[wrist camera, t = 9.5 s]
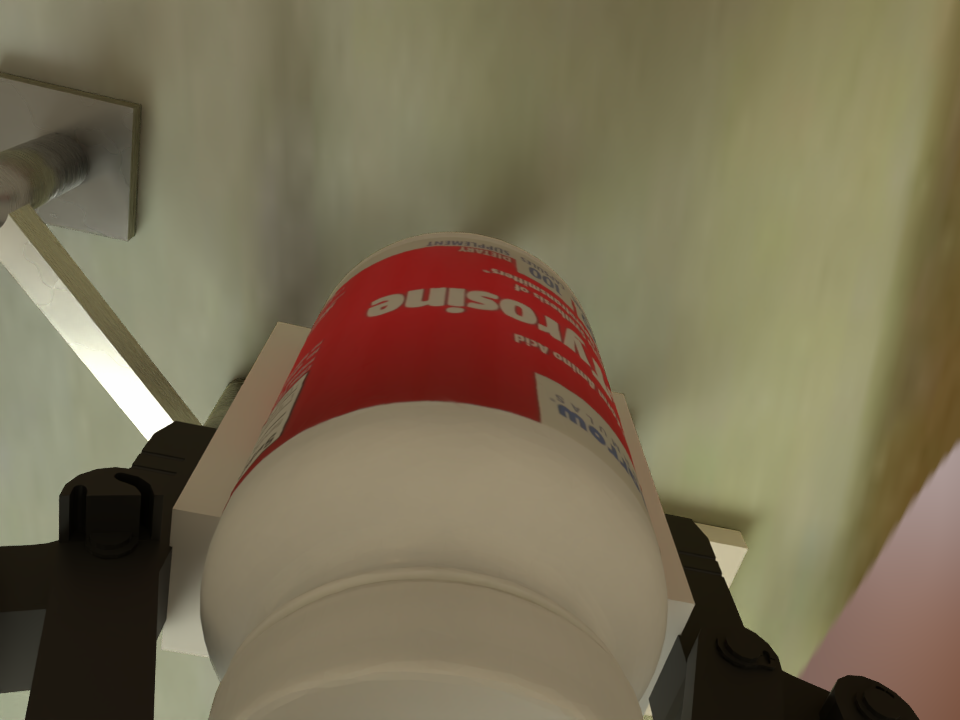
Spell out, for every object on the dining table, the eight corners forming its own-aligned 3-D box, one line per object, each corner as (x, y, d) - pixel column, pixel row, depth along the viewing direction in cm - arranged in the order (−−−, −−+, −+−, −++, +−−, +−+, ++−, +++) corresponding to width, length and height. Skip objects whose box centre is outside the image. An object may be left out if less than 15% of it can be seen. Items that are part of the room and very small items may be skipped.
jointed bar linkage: (6, 402, 27) (-86, 487, 23) (-3, 71, 23) (-121, 96, 18) (595, 515, 30) (616, 612, 25) (697, 234, 25) (746, 293, 20)
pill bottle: (646, 305, 17) (878, 761, 7) (509, 511, 20) (541, 1070, 10) (385, 169, 16) (229, 498, 6) (271, 407, 18) (24, 928, 8)
